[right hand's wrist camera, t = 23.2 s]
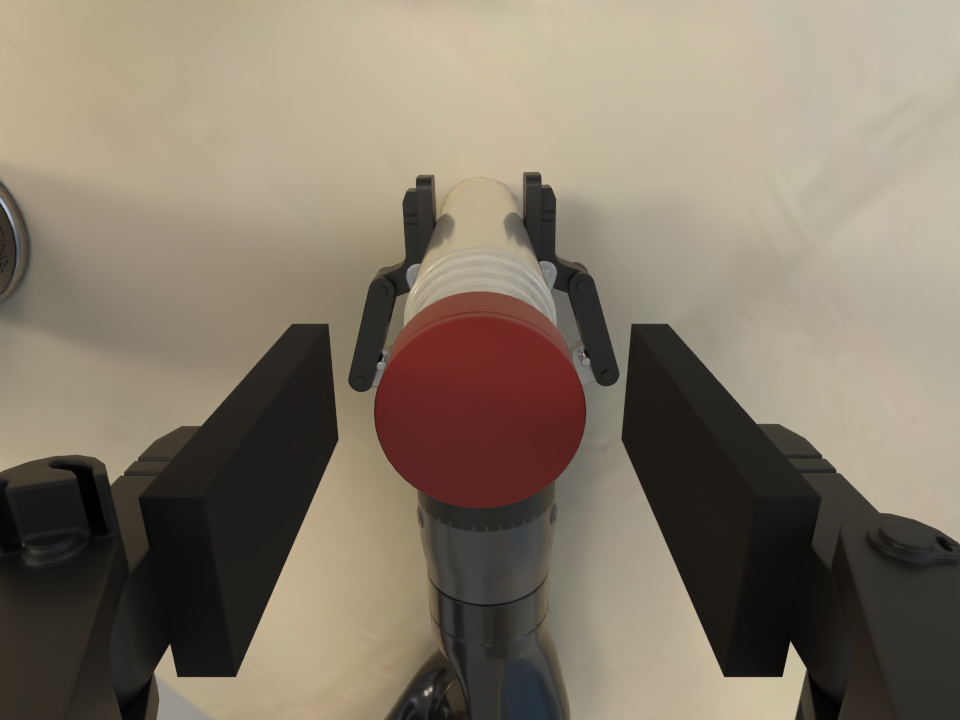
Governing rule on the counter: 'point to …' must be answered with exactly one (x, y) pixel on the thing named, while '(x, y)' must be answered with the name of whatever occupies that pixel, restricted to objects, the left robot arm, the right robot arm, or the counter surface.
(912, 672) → the right robot arm
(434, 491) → the cap
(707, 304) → the counter surface
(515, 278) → the bottle
